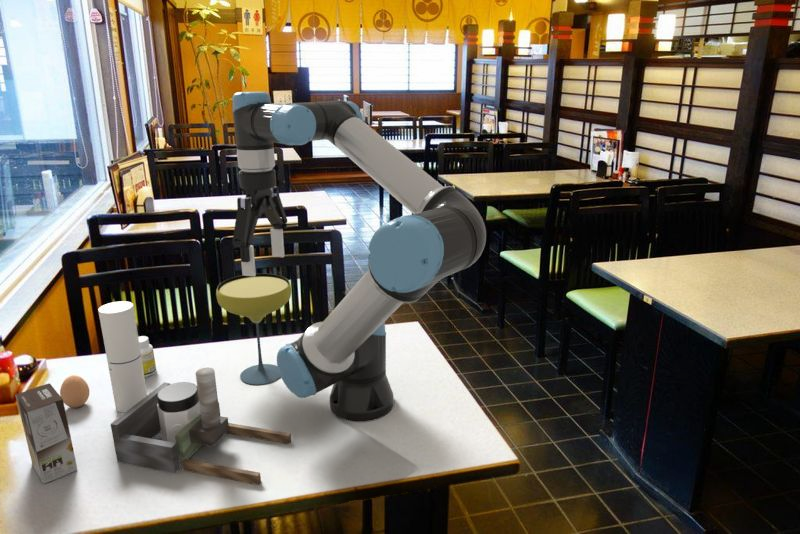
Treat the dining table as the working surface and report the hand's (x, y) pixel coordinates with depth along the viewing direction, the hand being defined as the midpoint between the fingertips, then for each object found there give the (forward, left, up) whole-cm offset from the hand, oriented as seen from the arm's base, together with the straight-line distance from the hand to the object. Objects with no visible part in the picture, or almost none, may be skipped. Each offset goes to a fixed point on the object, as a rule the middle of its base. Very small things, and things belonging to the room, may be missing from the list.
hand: (264, 265), depth 130 cm
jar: (+12, +19, -35) cm, 41 cm away
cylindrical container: (+33, +9, -35) cm, 49 cm away
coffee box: (+32, +33, -35) cm, 58 cm away
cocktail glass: (+10, -12, -35) cm, 38 cm away
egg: (+45, +13, -35) cm, 58 cm away
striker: (+5, +20, -34) cm, 40 cm away
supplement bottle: (+40, -5, -35) cm, 53 cm away
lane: (+6, +20, -35) cm, 40 cm away
